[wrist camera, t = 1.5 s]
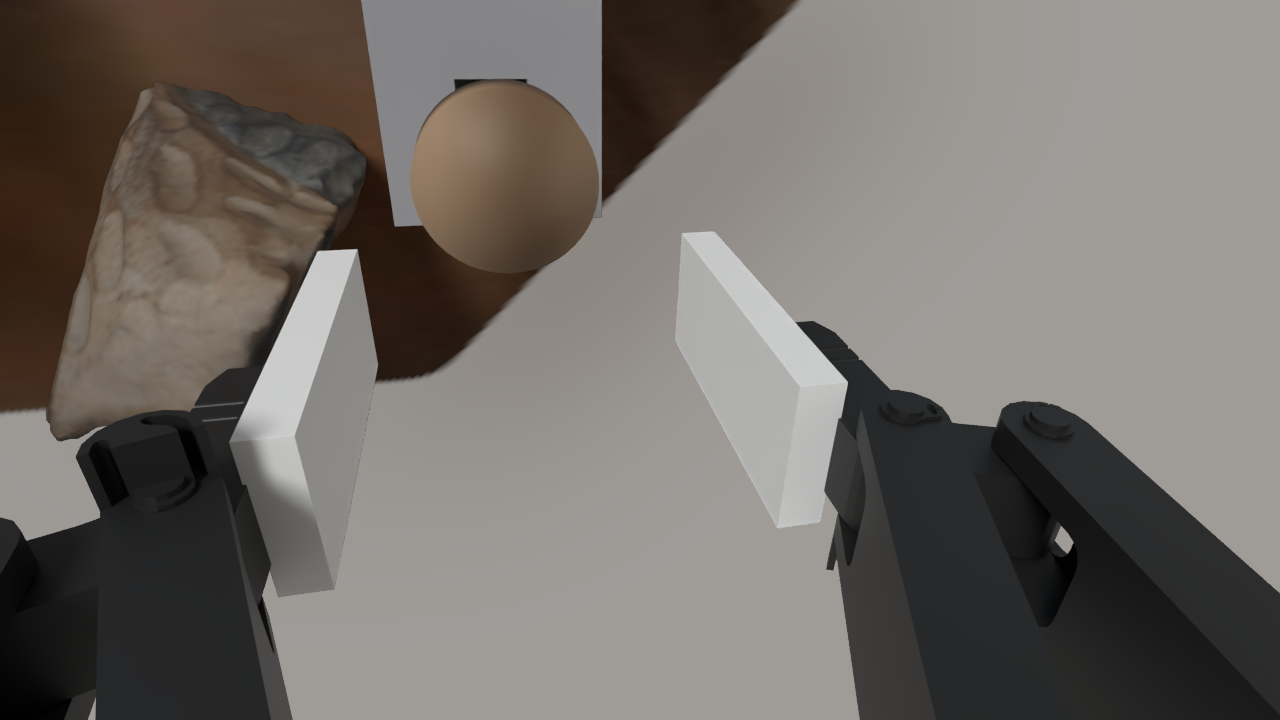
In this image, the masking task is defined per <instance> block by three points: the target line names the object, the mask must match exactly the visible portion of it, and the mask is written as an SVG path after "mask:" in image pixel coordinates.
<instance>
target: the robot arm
mask: <svg viewBox="0 0 1280 720" xmlns="http://www.w3.org/2000/svg"><path fill="white" fill-rule="evenodd" d="M675 341H676V343H677V345H678V347H679V349H680V350H681V352H682V354H683V356H684V358H685V360H686V362H687V363H688V365H689V367H690V369H691V371H692V373H693V374H694V376H695V378H696V380H697V382H698V384H699V385H700V387H701V389H702V391H703V393H704V395H705V396H706V398H707V400H708V402H709V404H710V406H711V407H712V409H713V411H714V413H715V415H716V417H717V418H718V420H719V422H720V424H721V426H722V428H723V429H724V431H725V433H726V435H727V436H728V439H729V441H730V442H731V444H732V446H733V448H734V450H735V452H736V453H737V455H738V457H739V459H740V461H741V463H742V464H743V466H744V468H745V470H746V472H747V473H748V475H749V477H750V479H751V481H752V483H753V485H754V486H755V488H756V490H757V492H758V494H759V496H760V498H761V499H762V501H763V503H764V505H765V506H766V508H767V510H768V512H769V514H770V516H771V518H772V519H773V521H774V523H775V525H776V527H777V528H782V527H790V526H797V525H804V524H812V523H819V522H820V520H821V515H822V510H823V505H824V500H825V495H827V496H828V498H829V499H830V501H831V502H832V504H833V505H834V507H835V508H836V510H837V511H838V516H837V520H836V525H835V530H834V534H833V539H832V543H831V548H830V553H829V557H828V563H827V570H833V569H834V565H835V561H836V560H837V561H838V568H839V576H840V582H841V590H842V596H843V604H844V611H845V618H846V624H847V632H848V639H849V646H850V653H851V661H852V668H853V674H854V682H855V688H856V696H857V703H858V710H859V716H860V720H1280V593H1279V592H1278V591H1276V590H1275V589H1274V588H1273V587H1272V586H1271V585H1270V584H1268V583H1267V582H1266V581H1265V580H1264V579H1263V578H1262V577H1261V576H1260V575H1258V574H1257V573H1256V572H1255V571H1254V570H1253V569H1252V568H1250V567H1249V566H1248V565H1247V564H1246V563H1245V562H1244V561H1243V560H1242V559H1240V558H1239V557H1238V556H1237V555H1236V554H1235V553H1234V552H1232V551H1231V550H1230V549H1229V548H1228V547H1227V546H1226V545H1225V544H1224V543H1222V542H1221V541H1220V540H1219V539H1218V538H1217V537H1216V536H1215V535H1213V534H1212V533H1211V532H1210V531H1209V530H1208V529H1206V527H1204V526H1203V525H1202V524H1201V523H1200V522H1199V521H1198V520H1197V519H1195V518H1194V517H1193V516H1192V515H1191V514H1190V513H1188V511H1186V510H1185V509H1184V508H1183V507H1182V506H1181V505H1180V504H1179V503H1177V502H1176V501H1175V500H1174V499H1173V498H1172V497H1170V496H1169V495H1168V494H1167V493H1166V492H1165V491H1164V490H1163V489H1162V488H1160V487H1159V486H1158V485H1157V484H1156V483H1155V482H1154V481H1153V480H1152V479H1150V478H1149V477H1148V476H1147V475H1146V474H1145V473H1144V472H1142V471H1141V470H1140V469H1139V468H1138V467H1137V466H1136V465H1135V464H1134V463H1132V462H1131V461H1130V460H1129V459H1128V458H1127V457H1126V456H1124V455H1123V454H1122V453H1121V452H1120V451H1119V450H1118V449H1117V448H1115V447H1114V446H1113V445H1112V444H1111V443H1110V442H1109V441H1107V439H1105V438H1104V437H1103V436H1102V435H1101V434H1099V432H1098V431H1096V430H1095V429H1094V428H1093V427H1092V426H1091V425H1089V424H1088V423H1087V422H1086V421H1084V420H1083V419H1081V418H1080V417H1078V416H1077V415H1075V414H1073V413H1071V412H1069V411H1066V410H1064V409H1062V408H1061V407H1059V406H1056V405H1053V404H1050V405H1048V403H1044V402H1027V401H1022V402H1016V403H1010V404H1009V405H1007V406H1006V407H1004V408H1003V409H1002V411H1001V414H1000V417H999V420H998V423H997V426H996V427H988V426H977V425H967V424H957V423H952V422H951V420H950V417H949V416H948V414H947V413H946V412H945V411H944V409H943V408H942V407H941V406H939V405H938V404H936V403H934V402H933V401H932V400H930V399H928V398H925V397H922V396H920V395H918V394H915V393H911V392H905V391H900V390H890V389H889V388H888V387H887V386H886V385H885V384H884V383H883V382H882V381H881V380H880V379H879V378H878V377H877V376H876V374H875V373H873V371H872V370H871V369H870V368H869V367H868V366H867V365H866V364H865V363H864V362H863V361H862V360H859V357H858V356H857V355H856V354H855V353H854V352H853V351H852V350H851V349H848V346H847V345H846V343H844V341H843V340H842V339H841V338H840V337H839V336H837V334H836V333H835V332H833V331H831V330H829V329H827V328H826V327H824V326H822V325H820V324H818V323H816V322H814V321H807V322H794V321H793V320H792V319H791V318H790V317H789V315H788V314H787V313H786V312H785V311H784V310H783V308H782V307H781V306H780V305H779V304H778V303H777V302H776V301H775V299H774V298H773V297H772V296H771V295H770V294H769V293H768V292H767V290H766V289H765V288H764V287H763V286H762V285H761V284H760V283H759V281H757V279H756V278H755V277H754V276H753V275H752V274H751V272H750V271H749V270H748V269H747V268H746V267H745V266H744V264H742V262H741V261H740V260H739V259H738V258H737V257H736V255H735V254H734V253H733V252H732V251H731V250H730V249H729V248H728V247H727V245H726V244H725V243H724V242H723V241H722V240H721V239H720V237H719V236H718V235H717V234H716V233H715V232H692V233H682V235H681V253H680V270H679V287H678V304H677V321H676V338H675ZM377 368H378V361H377V356H376V350H375V345H374V339H373V334H372V328H371V322H370V317H369V311H368V306H367V300H366V294H365V289H364V283H363V278H362V272H361V267H360V261H359V255H358V250H357V249H351V250H331V251H318V252H317V254H316V256H315V258H314V260H313V262H312V265H311V267H310V269H309V271H308V273H307V275H306V278H305V280H304V282H303V284H302V286H301V288H300V290H299V293H298V295H297V297H296V299H295V301H294V303H293V306H292V308H291V310H290V312H289V314H288V316H287V319H286V321H285V323H284V325H283V327H282V329H281V331H280V334H279V336H278V338H277V340H276V342H275V344H274V347H273V349H272V351H271V353H270V355H269V357H268V360H267V362H266V364H265V366H257V367H244V368H232V369H227V370H226V371H224V372H223V373H222V374H220V375H219V376H218V377H216V378H215V379H214V380H212V381H211V382H210V383H208V384H207V385H206V386H205V387H204V389H203V390H202V392H201V394H200V396H199V397H198V399H197V401H196V402H195V404H194V406H195V408H192V409H191V411H190V412H187V411H185V410H159V411H153V412H146V413H140V414H137V415H134V416H131V417H128V418H125V419H122V420H119V421H116V422H114V423H112V424H110V425H109V426H107V427H105V428H103V429H101V430H99V431H97V432H96V433H94V434H93V435H92V436H91V437H90V438H88V439H87V440H86V441H85V442H84V443H83V444H81V447H80V449H79V451H78V453H77V455H76V459H77V461H78V464H79V466H80V468H81V470H82V472H83V474H84V476H85V479H86V481H87V483H88V485H89V488H90V490H91V492H92V494H93V496H94V499H95V501H96V503H97V505H98V507H99V510H100V518H99V519H96V520H93V521H90V522H88V523H85V524H82V525H79V526H76V527H73V528H69V529H66V530H62V531H59V532H55V533H52V534H49V535H46V536H42V537H39V538H35V539H32V540H28V541H26V540H25V538H24V536H23V534H22V532H21V530H20V529H19V528H18V526H17V525H16V524H15V522H14V521H12V520H8V519H4V518H0V720H88V717H89V714H90V712H91V709H92V706H93V703H94V700H95V698H96V720H293V719H292V715H291V711H290V706H289V702H288V698H287V694H286V689H285V685H284V680H283V676H282V671H281V667H280V662H279V658H278V654H277V649H276V645H275V641H274V636H273V632H272V627H271V624H270V619H269V615H268V612H267V609H266V606H265V603H264V600H263V597H262V593H263V590H264V587H265V584H266V580H267V577H268V574H269V571H270V573H271V576H272V579H273V582H274V585H275V588H276V591H277V595H278V597H283V596H289V595H297V594H304V593H312V592H319V591H326V590H333V589H335V584H336V579H337V574H338V569H339V564H340V558H341V553H342V548H343V543H344V538H345V533H346V527H347V522H348V517H349V512H350V507H351V502H352V497H353V491H354V486H355V481H356V476H357V471H358V465H359V461H360V456H361V450H362V445H363V440H364V435H365V430H366V425H367V420H368V414H369V409H370V404H371V399H372V394H373V389H374V384H375V378H376V373H377ZM1061 526H1062V527H1063V528H1064V529H1065V530H1066V531H1067V533H1068V534H1069V536H1070V537H1071V539H1072V540H1073V542H1074V544H1073V545H1072V548H1071V550H1070V552H1069V553H1068V554H1067V553H1066V552H1064V551H1063V550H1062V549H1061V548H1060V546H1059V545H1058V544H1057V543H1056V542H1055V539H1056V536H1057V534H1058V531H1059V529H1060V527H1061Z"/></svg>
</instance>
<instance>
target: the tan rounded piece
mask: <svg viewBox="0 0 1280 720" xmlns="http://www.w3.org/2000/svg"><path fill="white" fill-rule="evenodd" d="M454 80H455V91H453V92H451V93H450V94H449V95H447V96H446V97H445V98H443V99H442V100H441V101H440V102H439V103H438V104H437V105H436V106H435V107H434V108H433V110H432V111H431V112H430V114H429V115H428V116H427V118H426V119H425V121H424V123H423V125H422V127H421V129H420V132H419V135H418V137H417V141H416V145H415V150H414V155H413V159H412V164H411V173H410V183H411V193H412V198H413V203H414V206H415V209H416V211H417V214H418V216H419V218H420V220H421V222H422V224H423V226H424V227H425V229H426V230H427V232H428V233H429V235H430V236H431V237H432V238H433V239H434V241H435V242H436V243H437V244H438V245H439V246H440V247H441V248H442V249H444V250H445V251H446V252H447V253H448V254H450V255H451V256H453V257H454V258H456V259H457V260H459V261H461V262H463V263H465V264H467V265H469V266H472V267H475V268H477V269H480V270H485V271H489V272H495V273H520V272H526V271H530V270H535V269H538V268H540V267H543V266H546V265H548V264H550V263H552V262H553V261H555V260H557V259H558V258H560V257H561V256H563V255H564V254H566V253H567V252H568V251H569V250H570V249H571V248H572V247H573V246H574V245H575V244H576V243H577V242H578V241H579V240H580V238H581V237H582V236H583V234H584V233H585V231H586V230H587V228H588V226H589V224H590V222H591V220H592V218H593V215H594V212H595V209H596V206H597V201H598V196H599V172H598V167H597V162H596V158H595V156H594V153H593V150H592V147H591V145H590V143H589V141H588V139H587V137H586V136H585V134H584V133H583V131H582V130H581V128H580V127H579V125H578V124H577V122H576V121H575V119H574V118H573V116H572V115H571V114H570V113H569V111H568V110H567V109H566V108H565V107H564V106H563V105H562V104H561V103H560V102H559V101H558V100H556V99H555V98H554V97H553V96H551V95H550V94H548V93H547V92H545V91H543V90H541V89H539V88H537V87H535V86H533V85H530V84H527V83H526V79H454Z"/></svg>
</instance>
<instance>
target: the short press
mask: <svg viewBox="0 0 1280 720" xmlns="http://www.w3.org/2000/svg"><path fill="white" fill-rule="evenodd" d="M361 3H362V9H363V16H364V23H365V29H366V36H367V43H368V50H369V56H370V63H371V70H372V77H373V83H374V90H375V97H376V103H377V110H378V117H379V124H380V130H381V137H382V144H383V150H384V157H385V164H386V171H387V177H388V184H389V191H390V198H391V204H392V211H393V218H394V224H395V226H418V225H423V224H422V222H421V220H420V218H419V216H418V214H417V211H416V209H415V206H414V203H413V198H412V193H411V183H410V173H411V164H412V159H413V155H414V150H415V145H416V141H417V137H418V135H419V132H420V129H421V127H422V125H423V123H424V121H425V119H426V118H427V116H428V115H429V114H430V112H431V111H432V110H433V108H434V107H435V106H436V105H437V104H438V103H439V102H440V101H441V100H442V99H443V98H445V97H446V96H447V95H449V94H450V93H451V92H453V91H455V80H454V79H526V83H527V84H530V85H533V86H535V87H537V88H539V89H541V90H543V91H545V92H547V93H548V94H550V95H551V96H553V97H554V98H555V99H556V100H558V101H559V102H560V103H561V104H562V105H563V106H564V107H565V108H566V109H567V110H568V111H569V113H570V114H571V115H572V116H573V118H574V119H575V121H576V122H577V124H578V125H579V127H580V128H581V130H582V131H583V133H584V134H585V136H586V137H587V139H588V141H589V143H590V145H591V147H592V150H593V153H594V156H595V158H596V162H597V167H598V172H599V196H598V201H597V206H596V209H595V212H594V215H593V218H600V217H602V0H361Z"/></svg>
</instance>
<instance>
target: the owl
mask: <svg viewBox="0 0 1280 720" xmlns="http://www.w3.org/2000/svg"><path fill="white" fill-rule="evenodd" d="M366 162H367V159H366V158H365V157H364V156H363V155H362V154H361V153H360V152H358V151H357V150H356V147H355V143H354V142H353V141H352V139H351V138H350V137H349V136H347V135H346V134H344V133H342V132H340V131H338V130H336V129H334V128H331V127H327V126H323V125H319V124H305V123H301V122H297V121H295V120H294V119H293V118H292V117H291V116H290V115H288V114H287V113H283V112H266V111H263V110H262V109H259V108H256V107H250V106H243V105H241V104H239V103H237V102H235V101H233V100H232V99H231V98H230V97H228V96H226V95H223V94H220V93H217V92H213V91H206V90H187V89H186V88H182V87H179V86H176V85H170V84H167V83H163V82H154V83H153V85H152V88H150V89H146V90H144V91H142V92H141V93H140V95H139V99H138V103H137V106H136V108H135V111H134V113H133V117H132V119H131V121H130V122H129V124H128V126H127V129H126V130H125V131H124V134H123V135H122V137H121V139H120V142H119V146H118V149H117V152H116V155H115V158H114V161H113V163H112V166H111V168H110V171H109V174H108V177H107V179H106V182H105V185H104V189H103V194H102V199H101V204H100V212H99V215H98V219H97V223H96V225H95V228H94V231H93V236H92V238H91V241H90V244H89V247H88V253H87V258H86V263H85V267H84V271H83V274H82V276H81V279H80V282H79V285H78V287H77V289H76V291H75V293H74V296H73V302H72V306H71V310H70V313H69V318H68V324H67V329H66V333H65V337H64V341H63V345H62V350H61V354H60V358H59V362H58V367H57V370H56V374H55V378H54V382H53V386H52V391H51V397H50V401H49V403H48V406H47V409H46V419H47V421H48V423H49V424H50V430H51V432H52V434H53V436H54V437H55V438H56V439H57V440H58V441H64V440H68V439H78V438H80V437H82V436H84V435H85V434H87V433H89V432H90V431H91V430H93V429H95V428H97V427H102V426H109V425H110V424H112V423H114V422H116V421H119V420H122V419H125V418H128V417H131V416H134V415H137V414H140V413H146V412H153V411H159V410H185V411H187V412H190V411H191V409H192V408H195V406H194V404H195V402H196V401H197V399H198V397H199V396H200V394H201V392H202V390H203V389H204V387H205V386H206V385H207V384H208V383H210V382H211V381H212V380H214V379H215V378H216V377H218V376H219V375H220V374H222V373H223V372H224V371H226V370H227V369H232V368H244V367H257V366H265V364H266V362H267V360H268V357H269V355H270V353H271V351H272V349H273V347H274V344H275V342H276V340H277V338H278V336H279V334H280V331H281V329H282V327H283V325H284V323H285V321H286V319H287V316H288V314H289V312H290V310H291V308H292V306H293V303H294V301H295V299H296V297H297V295H298V293H299V290H300V288H301V286H302V284H303V282H304V280H305V278H306V275H307V273H308V271H309V269H310V267H311V265H312V262H313V260H314V258H315V256H316V254H317V252H318V251H328V249H329V248H330V246H331V244H332V241H334V240H336V239H337V238H338V236H339V235H340V234H341V233H342V232H343V231H344V230H345V229H346V227H348V224H349V222H350V221H351V217H352V216H353V214H354V212H355V208H356V206H357V203H358V199H359V194H360V192H361V188H362V186H363V184H364V182H365V179H366V178H365V169H366Z"/></svg>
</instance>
